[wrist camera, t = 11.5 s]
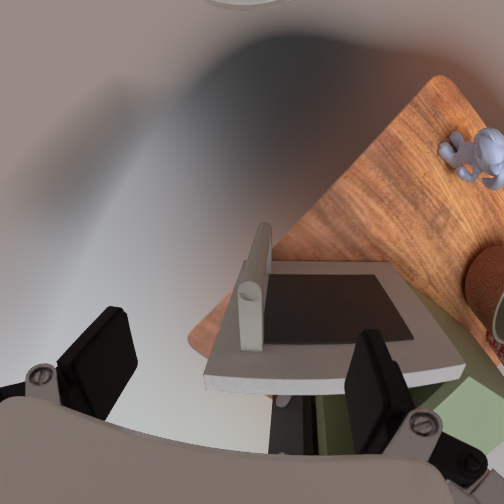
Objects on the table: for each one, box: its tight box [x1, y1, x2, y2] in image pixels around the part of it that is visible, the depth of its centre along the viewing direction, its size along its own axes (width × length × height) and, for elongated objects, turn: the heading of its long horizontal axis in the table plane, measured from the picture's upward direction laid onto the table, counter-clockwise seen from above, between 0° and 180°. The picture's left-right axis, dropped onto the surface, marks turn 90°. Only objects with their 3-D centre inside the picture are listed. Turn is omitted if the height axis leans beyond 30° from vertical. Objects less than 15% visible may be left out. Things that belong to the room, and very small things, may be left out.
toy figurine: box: [438, 127, 504, 190], centre depth 25 cm, size 7×6×12 cm
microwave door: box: [203, 222, 466, 395], centre depth 27 cm, size 7×20×22 cm, turn 91°
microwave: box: [268, 279, 504, 456], centre depth 32 cm, size 24×28×22 cm
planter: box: [465, 245, 504, 344], centre depth 30 cm, size 12×12×11 cm
